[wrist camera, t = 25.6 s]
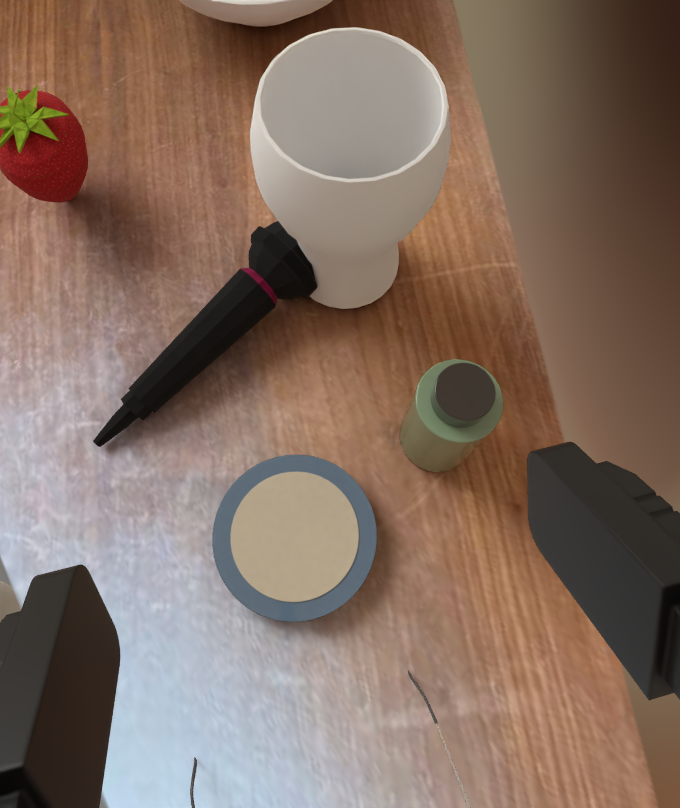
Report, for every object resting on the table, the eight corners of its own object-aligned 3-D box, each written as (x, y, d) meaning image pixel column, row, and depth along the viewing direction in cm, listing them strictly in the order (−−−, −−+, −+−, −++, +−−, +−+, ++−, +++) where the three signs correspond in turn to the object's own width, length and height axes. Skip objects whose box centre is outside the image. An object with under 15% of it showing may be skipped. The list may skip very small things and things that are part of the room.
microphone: (135, 468, 43) (335, 272, 45) (119, 478, 38) (348, 254, 40) (77, 413, 43) (282, 217, 45) (51, 415, 37) (288, 190, 39)
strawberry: (100, 144, 48) (43, 31, 38) (120, 225, 46) (65, 127, 36) (23, 163, 47) (-54, 53, 38) (40, 246, 45) (-37, 151, 36)
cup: (322, 174, 47) (320, -13, 33) (445, 241, 45) (498, 76, 31) (241, 280, 44) (199, 126, 30) (368, 355, 42) (389, 231, 28)
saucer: (261, 653, 37) (259, 655, 36) (190, 506, 40) (184, 503, 38) (404, 568, 39) (407, 567, 37) (326, 433, 41) (326, 426, 40)
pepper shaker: (390, 458, 41) (408, 418, 32) (411, 393, 42) (433, 337, 33) (461, 482, 40) (499, 447, 31) (479, 415, 42) (520, 363, 33)
